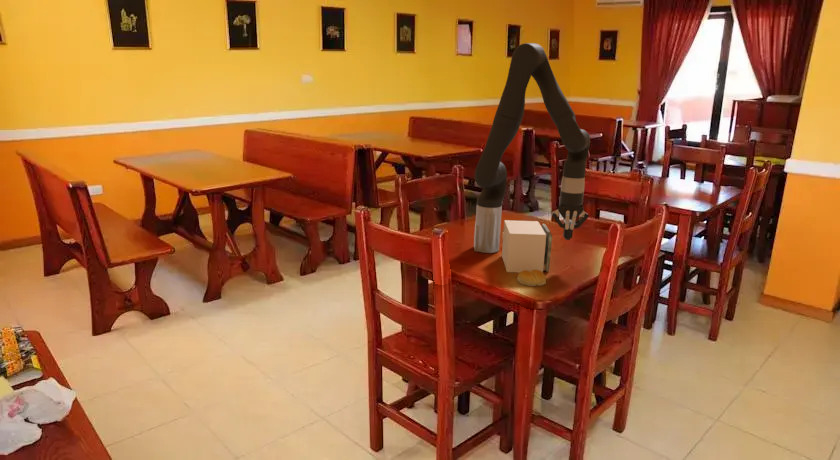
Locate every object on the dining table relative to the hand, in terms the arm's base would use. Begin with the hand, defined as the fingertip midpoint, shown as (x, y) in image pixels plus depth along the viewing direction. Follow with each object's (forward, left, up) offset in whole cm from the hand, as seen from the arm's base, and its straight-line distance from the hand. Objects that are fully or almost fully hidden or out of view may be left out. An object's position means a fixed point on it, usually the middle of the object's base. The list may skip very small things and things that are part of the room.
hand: (567, 239), depth 197 cm
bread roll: (-14, -16, -10) cm, 24 cm away
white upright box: (-15, 0, -10) cm, 18 cm away
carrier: (-13, 0, -10) cm, 16 cm away
